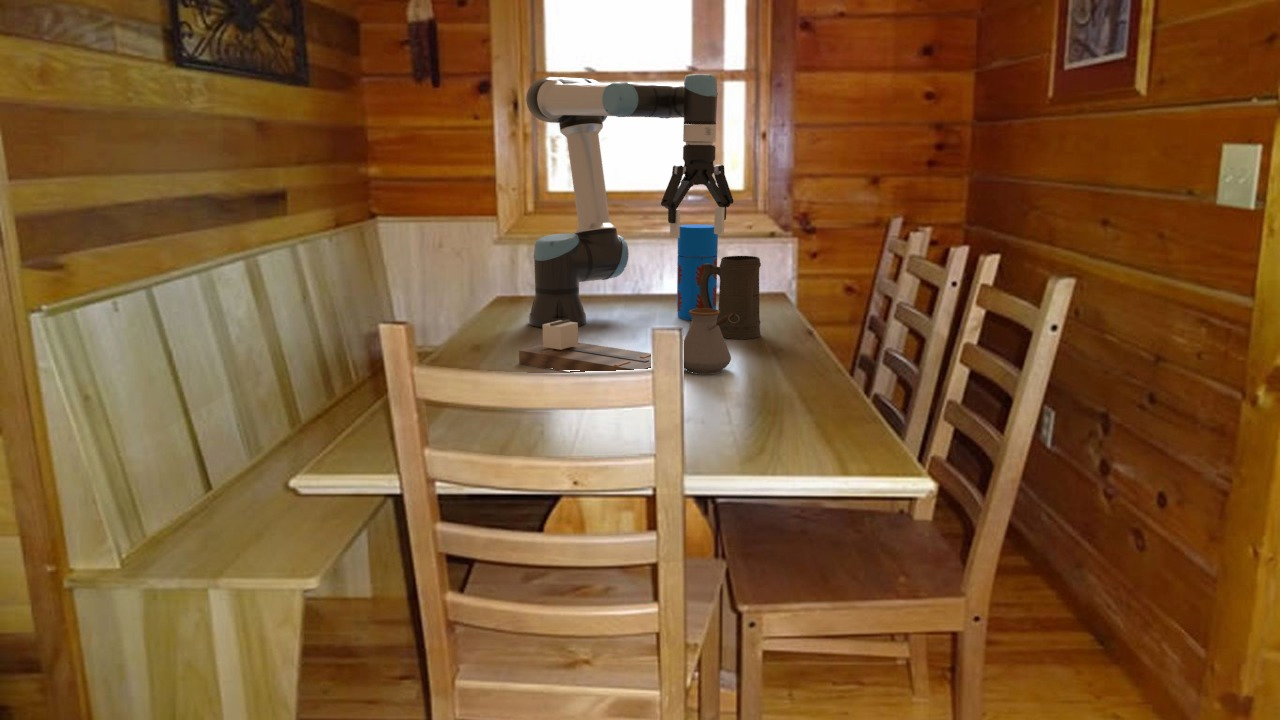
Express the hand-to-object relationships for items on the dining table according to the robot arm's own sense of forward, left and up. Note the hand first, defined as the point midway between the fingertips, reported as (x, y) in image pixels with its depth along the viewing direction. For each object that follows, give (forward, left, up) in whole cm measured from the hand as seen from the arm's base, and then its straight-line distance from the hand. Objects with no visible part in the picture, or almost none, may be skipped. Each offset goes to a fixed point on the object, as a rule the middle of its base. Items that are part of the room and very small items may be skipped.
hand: (697, 235), depth 222 cm
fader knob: (-13, -36, -22) cm, 44 cm away
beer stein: (+3, +11, -26) cm, 28 cm away
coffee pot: (+21, -28, -26) cm, 43 cm away
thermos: (-17, +28, -26) cm, 42 cm away
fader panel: (-3, -36, -26) cm, 44 cm away
